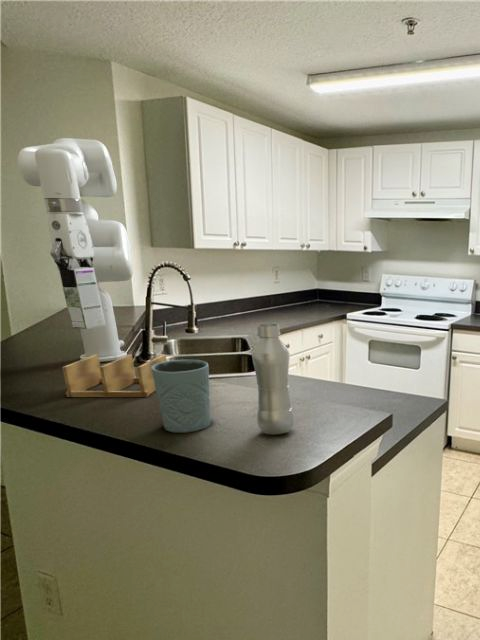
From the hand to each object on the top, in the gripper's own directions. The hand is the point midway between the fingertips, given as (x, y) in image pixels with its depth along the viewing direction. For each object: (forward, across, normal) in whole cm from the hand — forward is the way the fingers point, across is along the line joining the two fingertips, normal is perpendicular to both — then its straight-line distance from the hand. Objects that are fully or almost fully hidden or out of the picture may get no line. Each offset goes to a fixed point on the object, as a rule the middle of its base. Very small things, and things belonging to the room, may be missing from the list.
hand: (79, 285), depth 134 cm
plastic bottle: (+23, -43, -56) cm, 74 cm away
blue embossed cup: (+23, -39, -38) cm, 59 cm away
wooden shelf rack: (+23, -12, -12) cm, 29 cm away
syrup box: (+10, 0, 0) cm, 10 cm away
